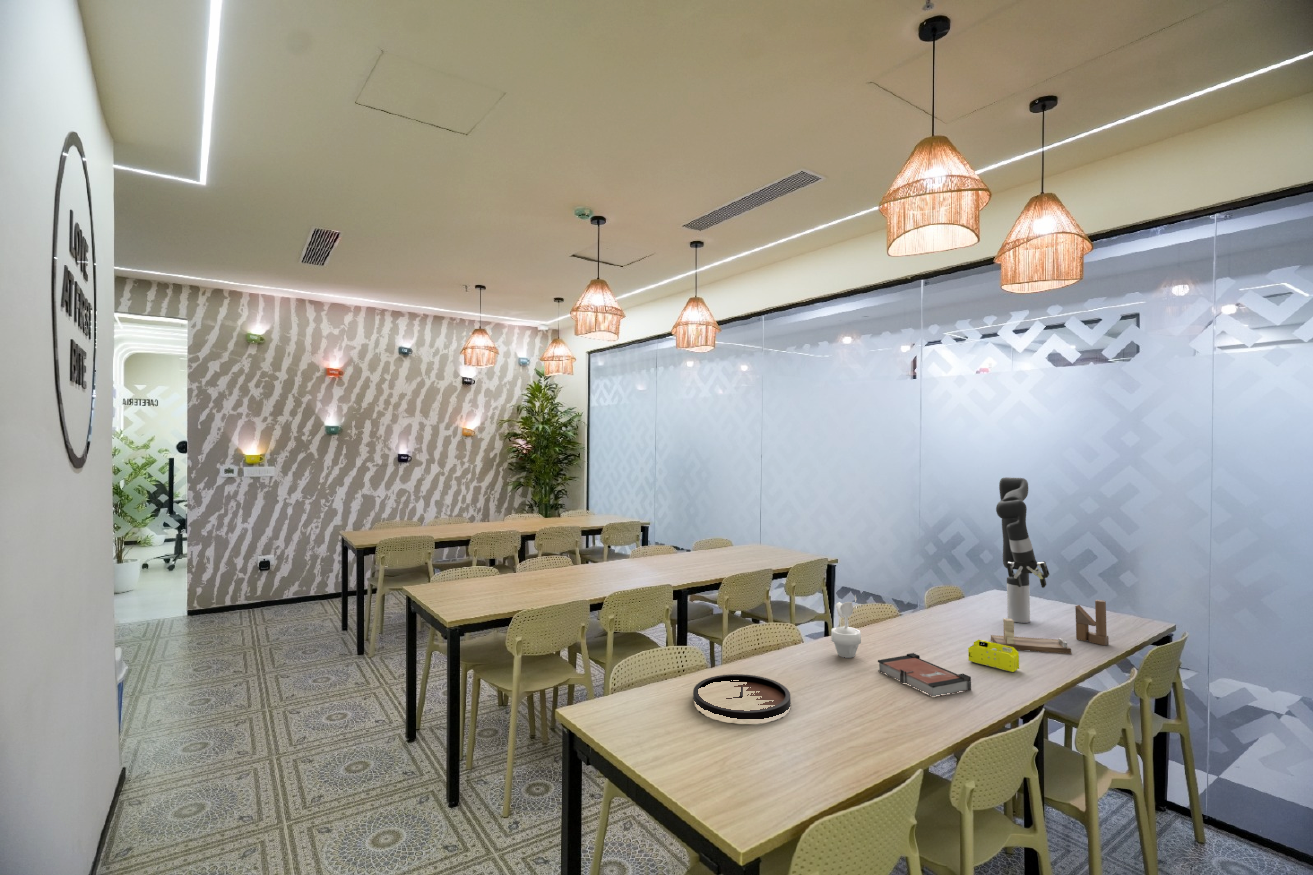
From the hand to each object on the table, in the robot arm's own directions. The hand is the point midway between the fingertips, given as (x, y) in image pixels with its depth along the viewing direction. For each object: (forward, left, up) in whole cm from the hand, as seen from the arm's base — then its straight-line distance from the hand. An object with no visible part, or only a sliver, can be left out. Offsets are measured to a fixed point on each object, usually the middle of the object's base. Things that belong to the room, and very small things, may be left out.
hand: (1031, 586), depth 245 cm
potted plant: (+23, -73, -26) cm, 81 cm away
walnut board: (-6, 0, -26) cm, 27 cm away
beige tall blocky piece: (-4, -8, -24) cm, 25 cm away
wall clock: (+79, -107, -26) cm, 135 cm away
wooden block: (-19, +27, -26) cm, 42 cm away
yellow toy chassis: (+23, -20, -26) cm, 40 cm away
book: (+44, -48, -27) cm, 70 cm away
